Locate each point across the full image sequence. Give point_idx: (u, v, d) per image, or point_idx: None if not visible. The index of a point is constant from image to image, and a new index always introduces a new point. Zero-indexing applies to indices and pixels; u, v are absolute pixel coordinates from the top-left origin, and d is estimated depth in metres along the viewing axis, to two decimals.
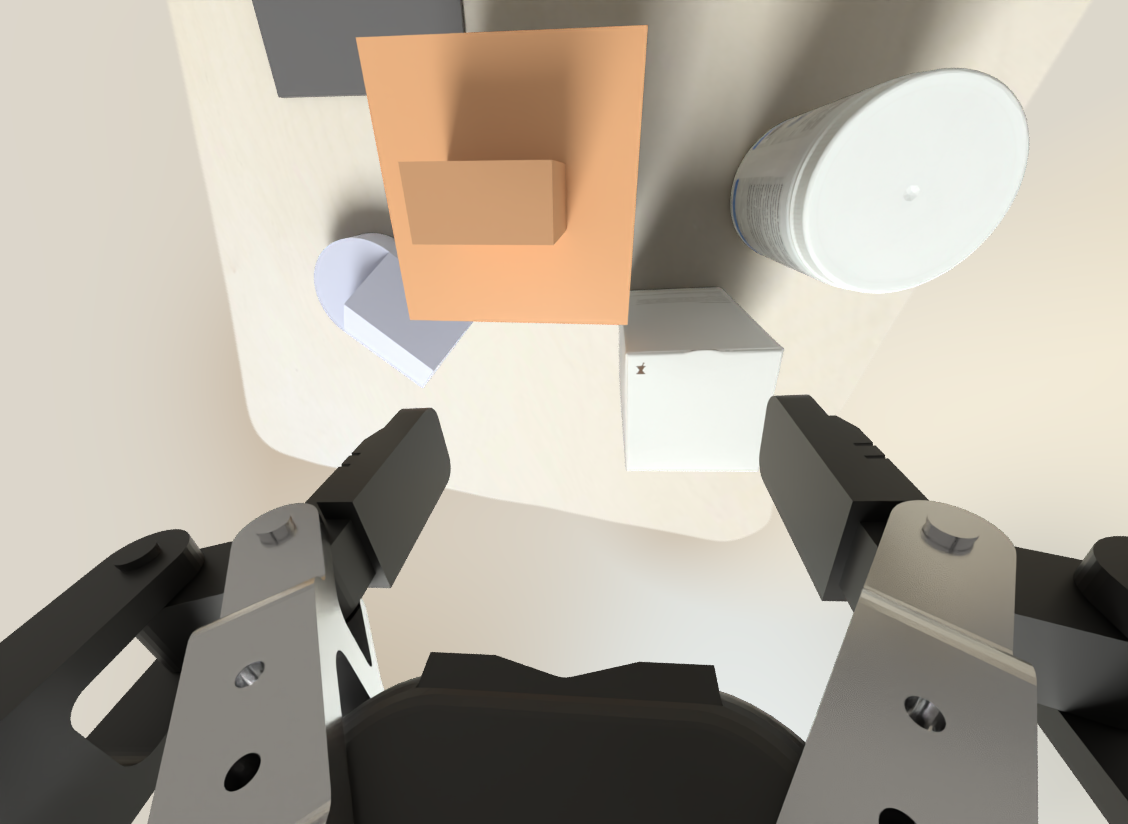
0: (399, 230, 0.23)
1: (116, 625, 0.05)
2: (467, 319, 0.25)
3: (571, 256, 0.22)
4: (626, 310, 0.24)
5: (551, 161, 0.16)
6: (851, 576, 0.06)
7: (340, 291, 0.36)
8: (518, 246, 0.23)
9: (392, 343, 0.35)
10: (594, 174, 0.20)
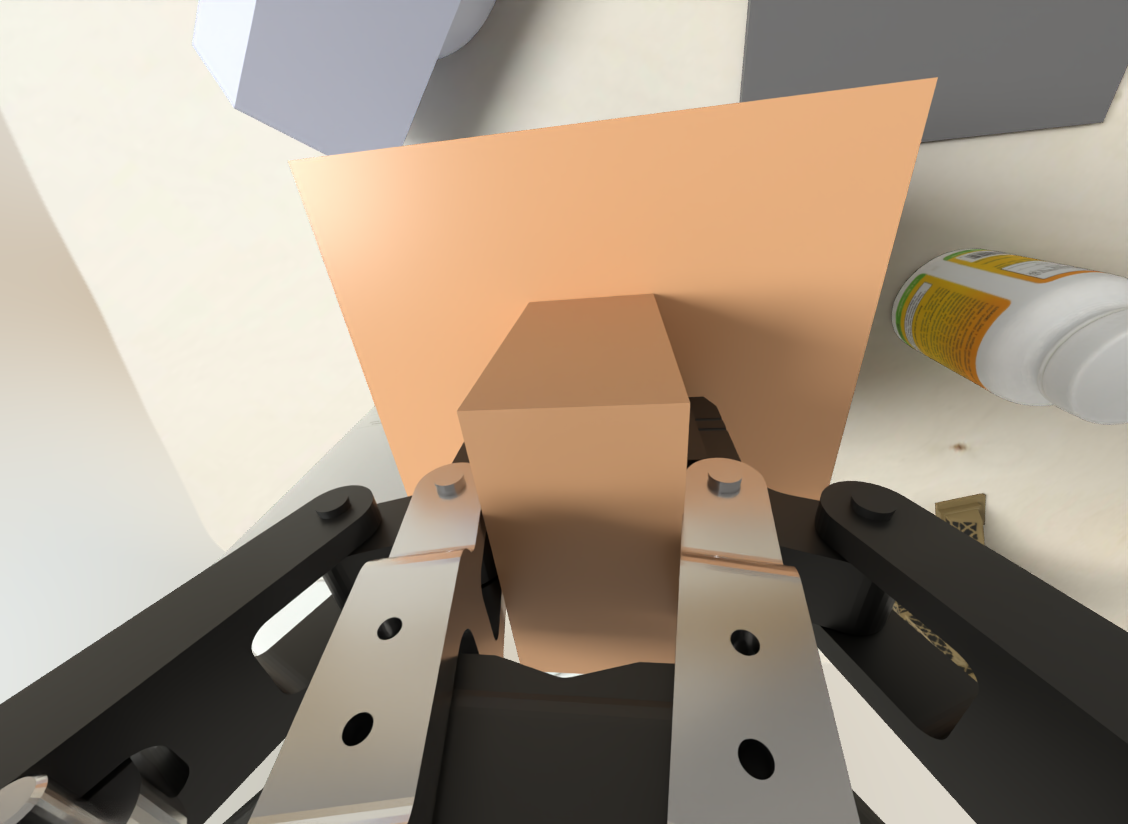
0: (507, 154, 0.09)
1: (299, 572, 0.06)
2: (347, 318, 0.11)
3: None
4: None
5: None
6: None
7: None
8: None
9: None
10: None
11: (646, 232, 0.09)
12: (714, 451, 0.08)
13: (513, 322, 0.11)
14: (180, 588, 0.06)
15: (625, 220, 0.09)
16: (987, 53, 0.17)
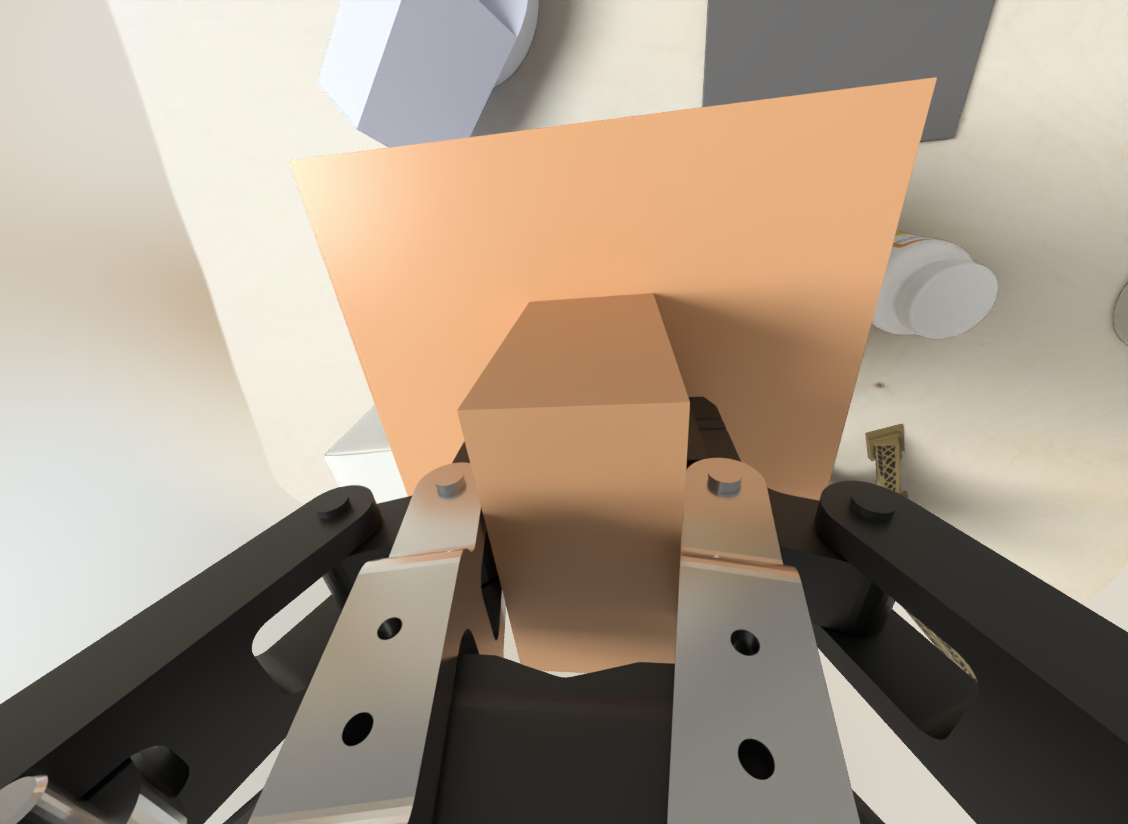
0: (507, 154, 0.09)
1: (299, 572, 0.06)
2: (347, 317, 0.11)
3: None
4: None
5: None
6: None
7: None
8: None
9: (378, 47, 0.21)
10: None
11: (646, 232, 0.09)
12: (714, 451, 0.08)
13: (513, 322, 0.11)
14: (180, 588, 0.06)
15: (625, 220, 0.09)
16: None
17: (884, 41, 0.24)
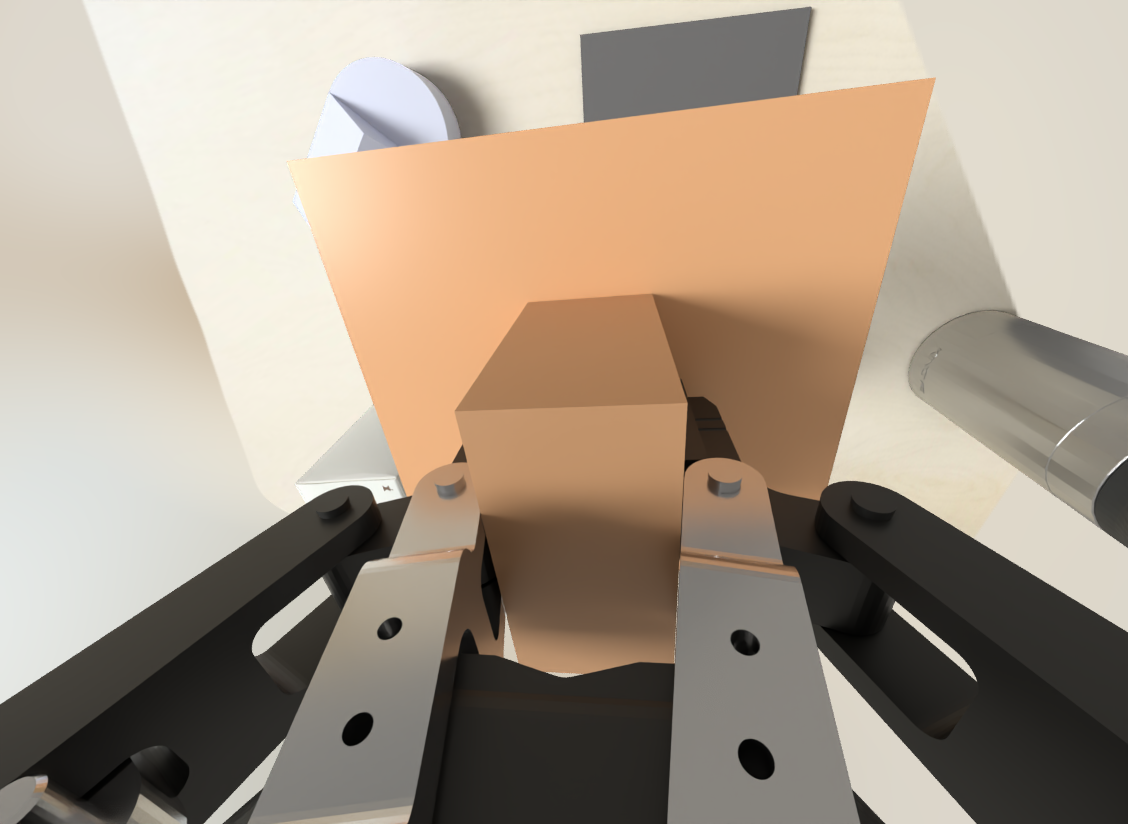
0: (506, 154, 0.09)
1: (299, 571, 0.06)
2: (346, 318, 0.11)
3: None
4: None
5: None
6: None
7: (380, 98, 0.29)
8: None
9: None
10: None
11: (644, 232, 0.09)
12: (714, 451, 0.08)
13: (512, 322, 0.11)
14: (180, 588, 0.06)
15: (623, 221, 0.09)
16: None
17: None
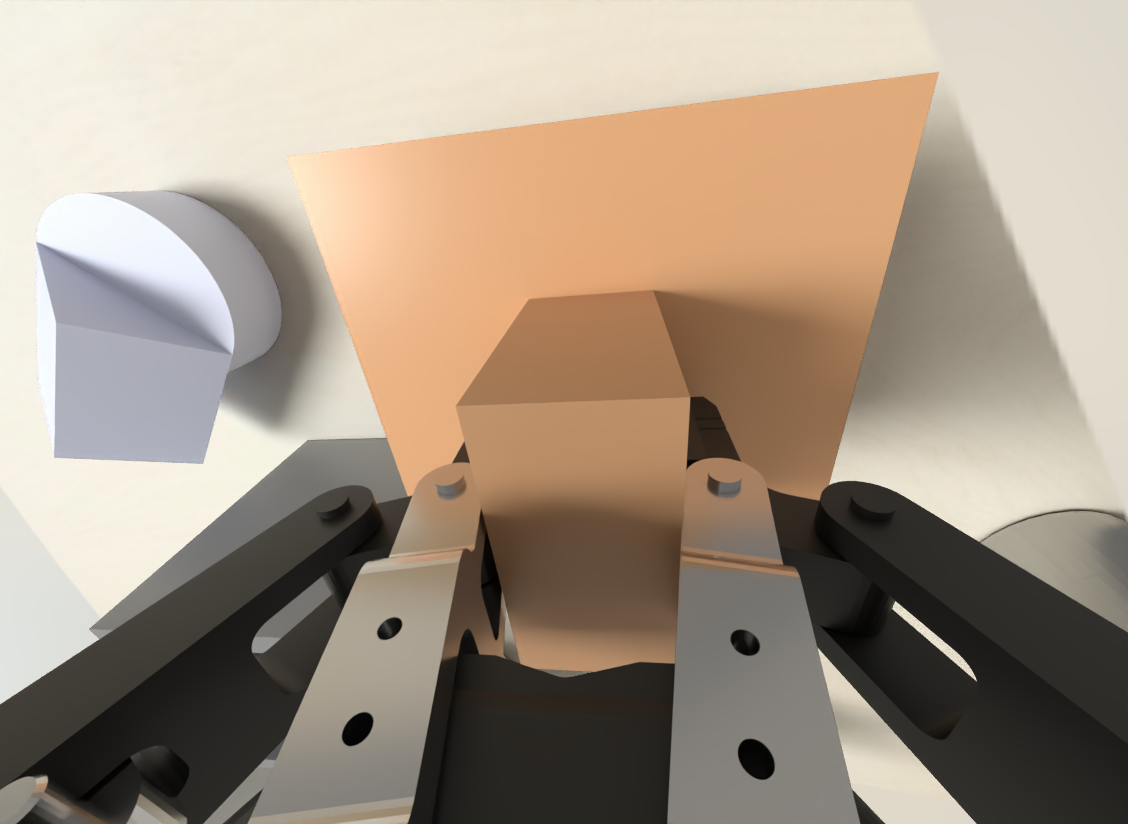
0: (507, 150, 0.09)
1: (299, 571, 0.06)
2: (346, 315, 0.11)
3: None
4: None
5: None
6: None
7: (112, 250, 0.19)
8: None
9: (52, 392, 0.19)
10: None
11: (646, 228, 0.09)
12: (714, 451, 0.08)
13: (513, 319, 0.11)
14: (180, 588, 0.06)
15: (625, 217, 0.09)
16: None
17: None
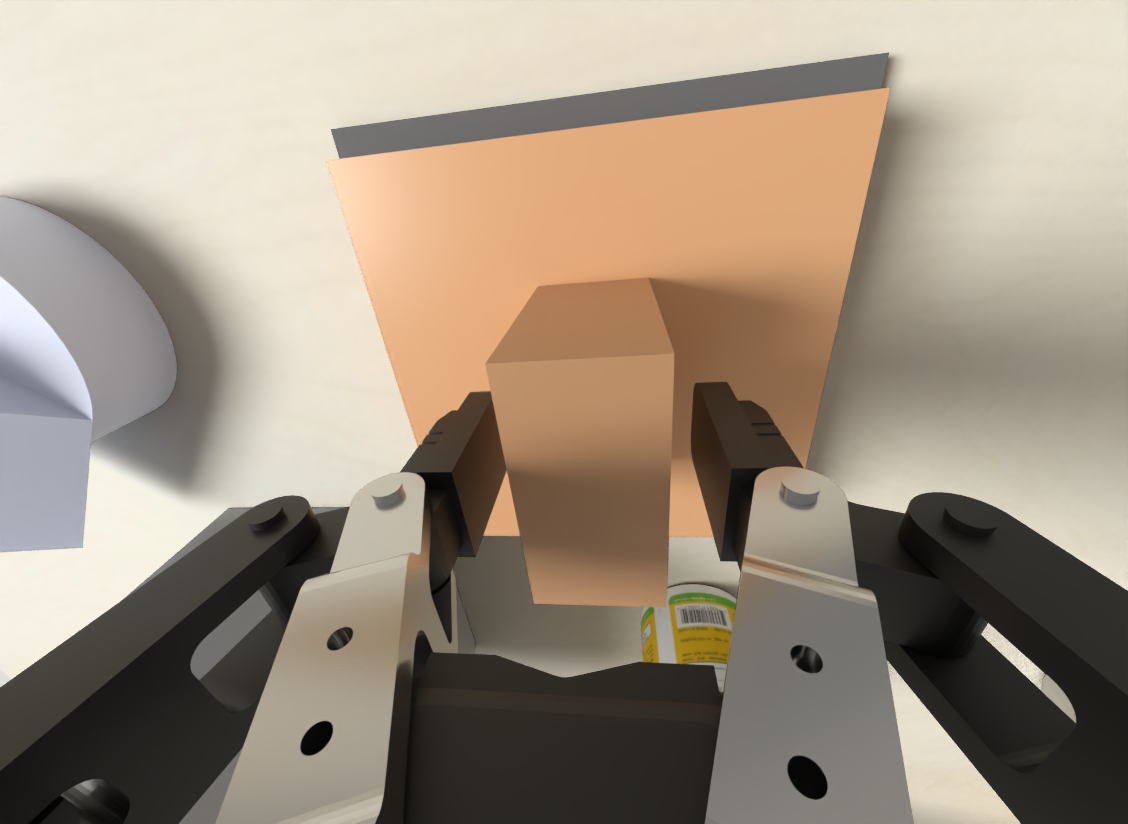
0: (520, 154, 0.10)
1: (237, 584, 0.06)
2: (374, 301, 0.12)
3: None
4: None
5: (663, 604, 0.09)
6: (737, 536, 0.07)
7: None
8: None
9: None
10: None
11: (641, 222, 0.11)
12: (773, 458, 0.08)
13: (523, 304, 0.12)
14: (99, 619, 0.05)
15: (623, 213, 0.10)
16: None
17: None
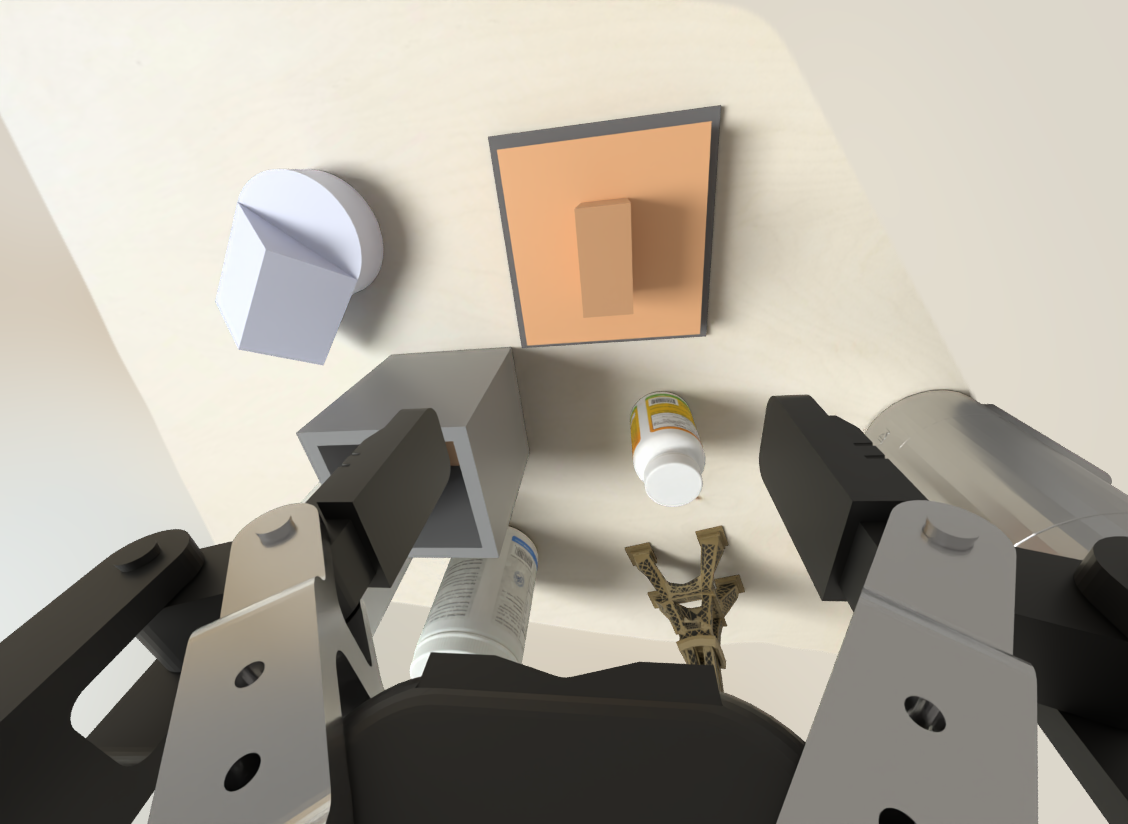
0: (576, 146, 0.26)
1: (116, 625, 0.05)
2: (508, 212, 0.28)
3: (570, 300, 0.30)
4: (537, 343, 0.32)
5: (632, 313, 0.25)
6: (851, 576, 0.06)
7: (288, 206, 0.29)
8: (573, 258, 0.29)
9: (247, 300, 0.29)
10: None
11: (624, 173, 0.26)
12: None
13: (574, 211, 0.28)
14: None
15: (616, 169, 0.26)
16: None
17: None
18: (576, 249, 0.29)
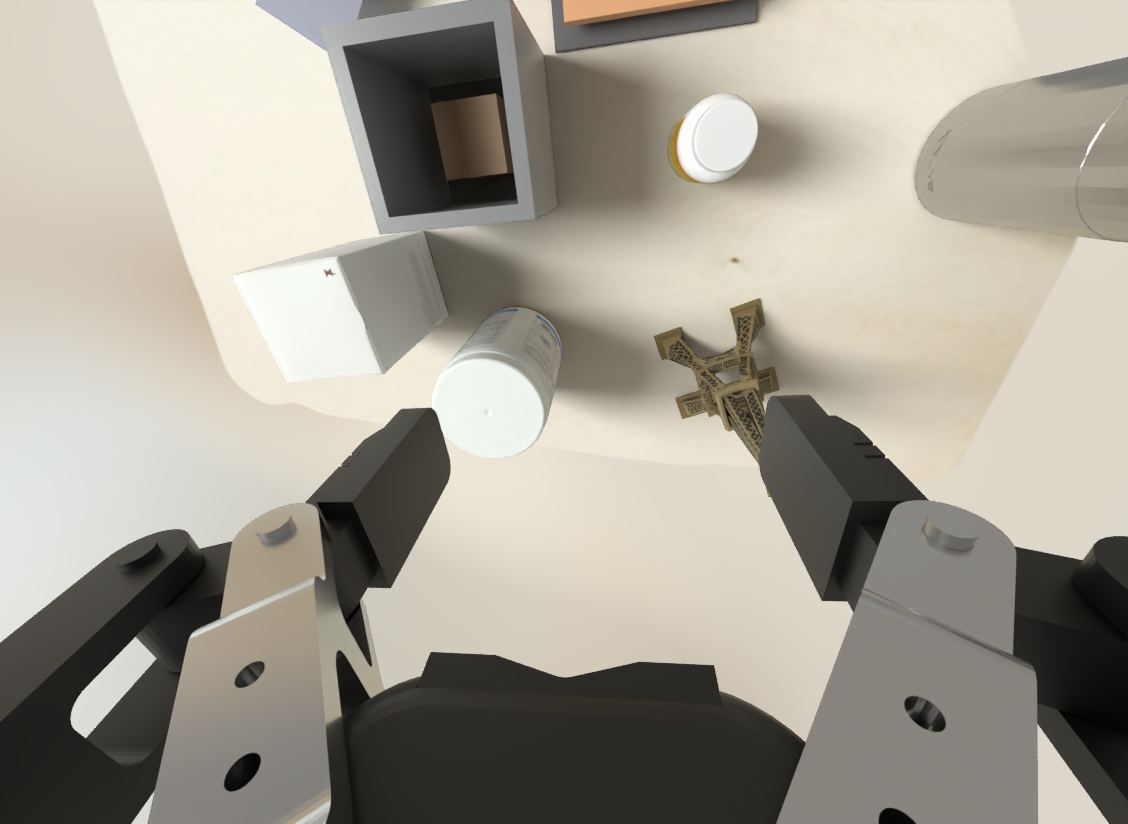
0: None
1: (116, 625, 0.05)
2: None
3: None
4: (575, 18, 0.30)
5: None
6: (851, 576, 0.06)
7: None
8: None
9: None
10: None
11: None
12: None
13: None
14: None
15: None
16: None
17: None
18: None
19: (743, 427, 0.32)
